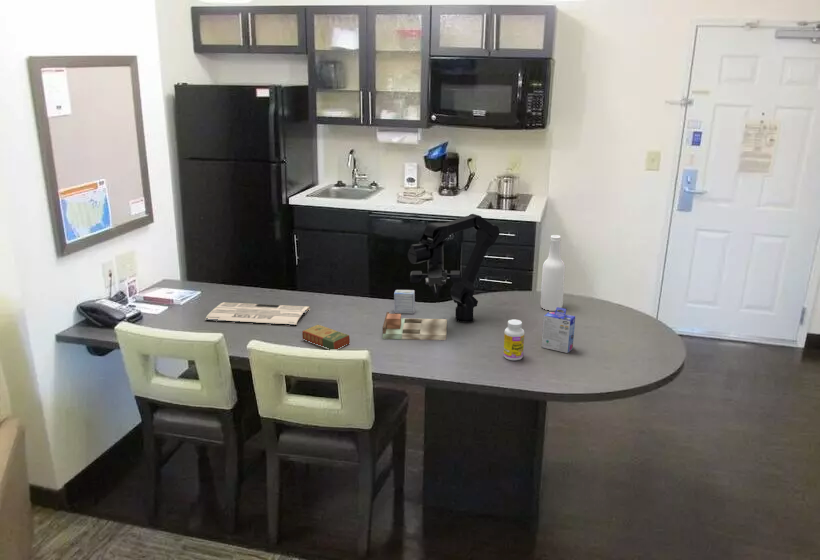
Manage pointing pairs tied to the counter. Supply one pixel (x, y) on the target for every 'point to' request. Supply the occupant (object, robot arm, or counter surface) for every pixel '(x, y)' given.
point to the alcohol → (553, 277)
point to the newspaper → (258, 313)
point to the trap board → (417, 329)
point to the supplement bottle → (513, 340)
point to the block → (393, 321)
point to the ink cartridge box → (558, 331)
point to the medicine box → (404, 301)
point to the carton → (325, 337)
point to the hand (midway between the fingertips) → (436, 298)
